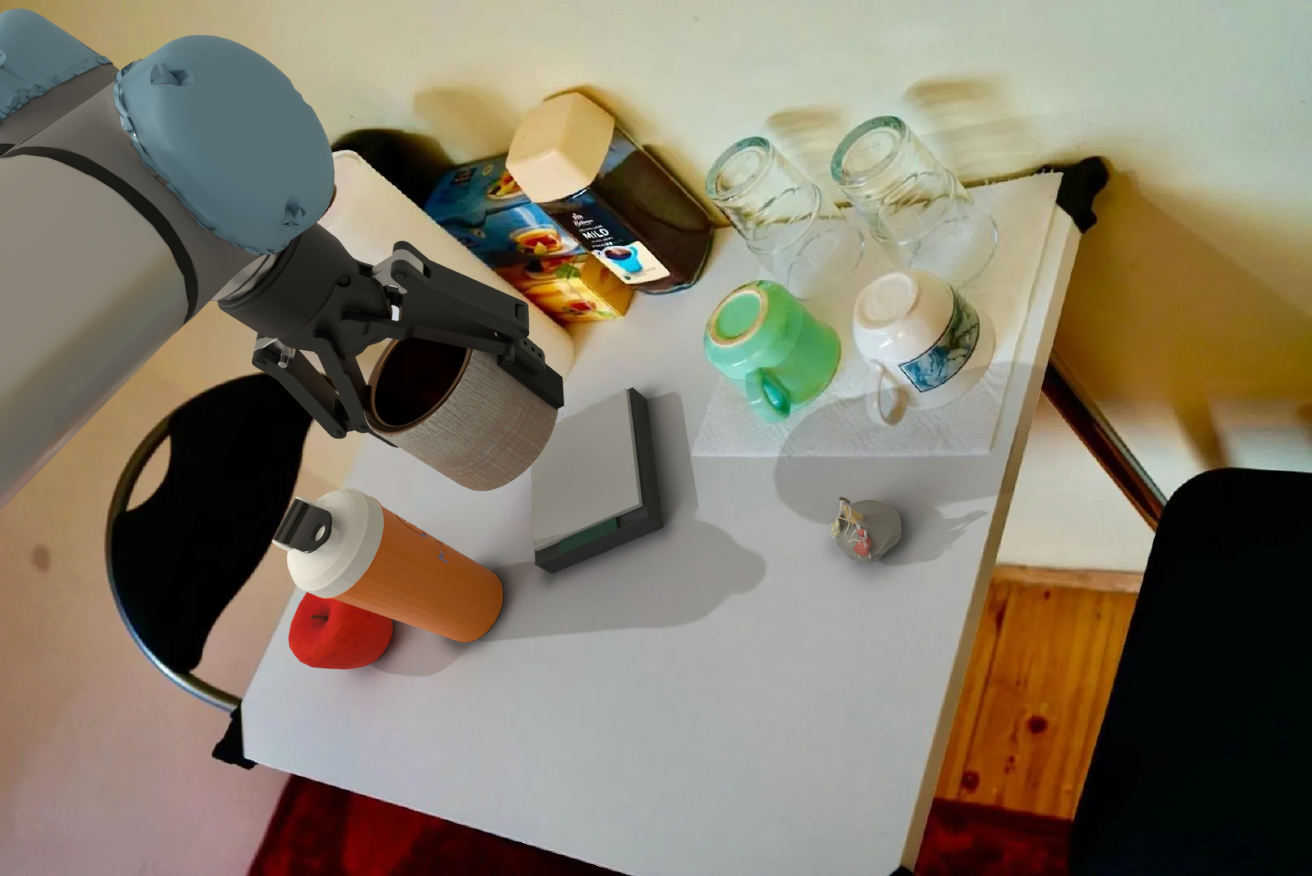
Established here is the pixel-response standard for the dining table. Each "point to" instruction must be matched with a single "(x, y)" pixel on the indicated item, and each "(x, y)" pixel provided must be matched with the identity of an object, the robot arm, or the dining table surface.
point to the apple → (337, 634)
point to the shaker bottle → (386, 566)
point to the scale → (595, 483)
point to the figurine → (866, 529)
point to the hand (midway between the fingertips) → (499, 424)
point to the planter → (457, 412)
